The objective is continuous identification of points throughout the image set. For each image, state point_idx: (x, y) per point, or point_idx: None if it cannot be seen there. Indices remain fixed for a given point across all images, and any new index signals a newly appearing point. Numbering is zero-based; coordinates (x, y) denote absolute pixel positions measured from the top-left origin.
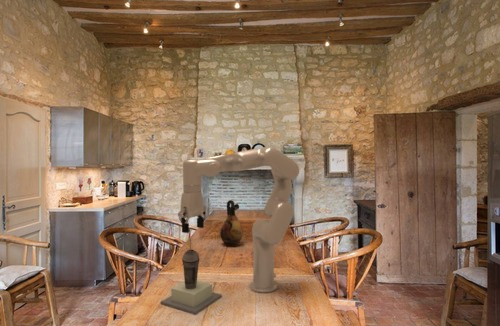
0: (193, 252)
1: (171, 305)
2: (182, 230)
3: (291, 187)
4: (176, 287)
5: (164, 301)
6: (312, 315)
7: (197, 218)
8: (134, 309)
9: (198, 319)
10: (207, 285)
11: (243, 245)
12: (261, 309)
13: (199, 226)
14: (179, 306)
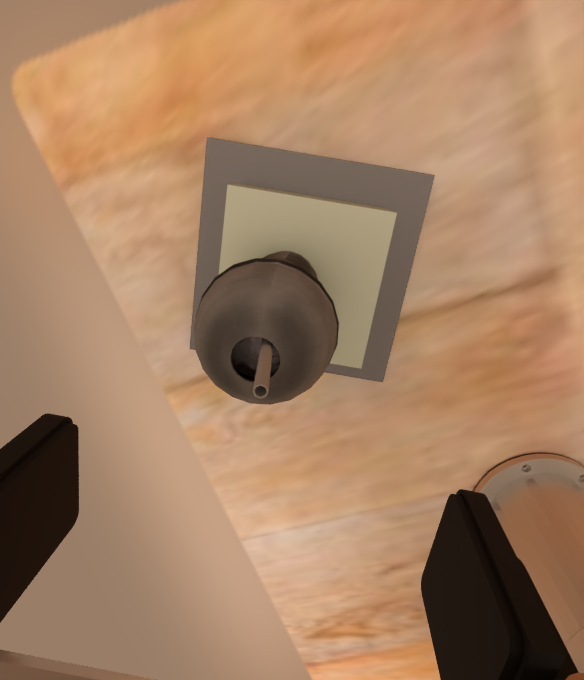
0: (240, 391)
1: (201, 213)
2: (30, 436)
3: None
4: (250, 206)
5: (215, 156)
6: (342, 666)
7: (526, 655)
8: (107, 40)
9: (168, 371)
10: (336, 354)
11: None
12: (327, 539)
13: (439, 549)
14: (204, 258)
